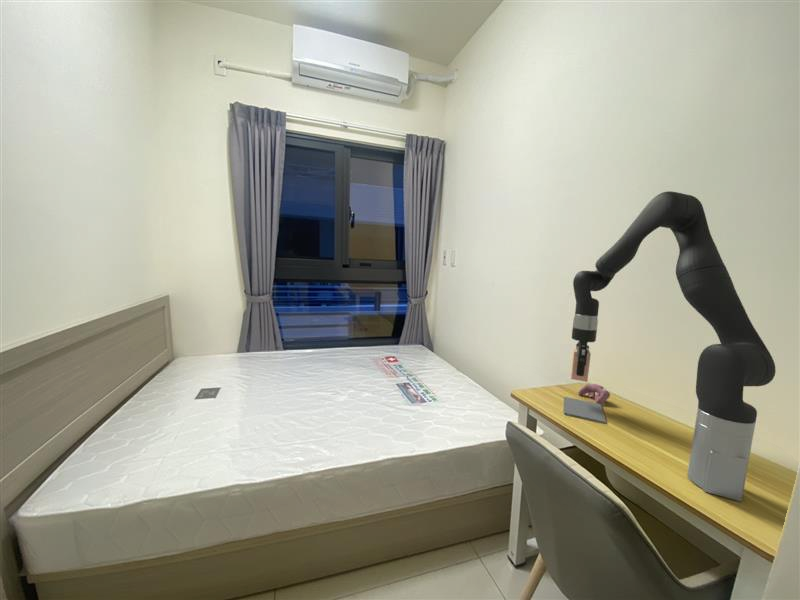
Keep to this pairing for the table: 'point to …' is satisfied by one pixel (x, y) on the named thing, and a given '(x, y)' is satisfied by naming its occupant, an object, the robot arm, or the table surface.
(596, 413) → the charcoal mat
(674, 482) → the table surface
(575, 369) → the peach block
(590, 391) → the video game controller
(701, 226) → the robot arm
